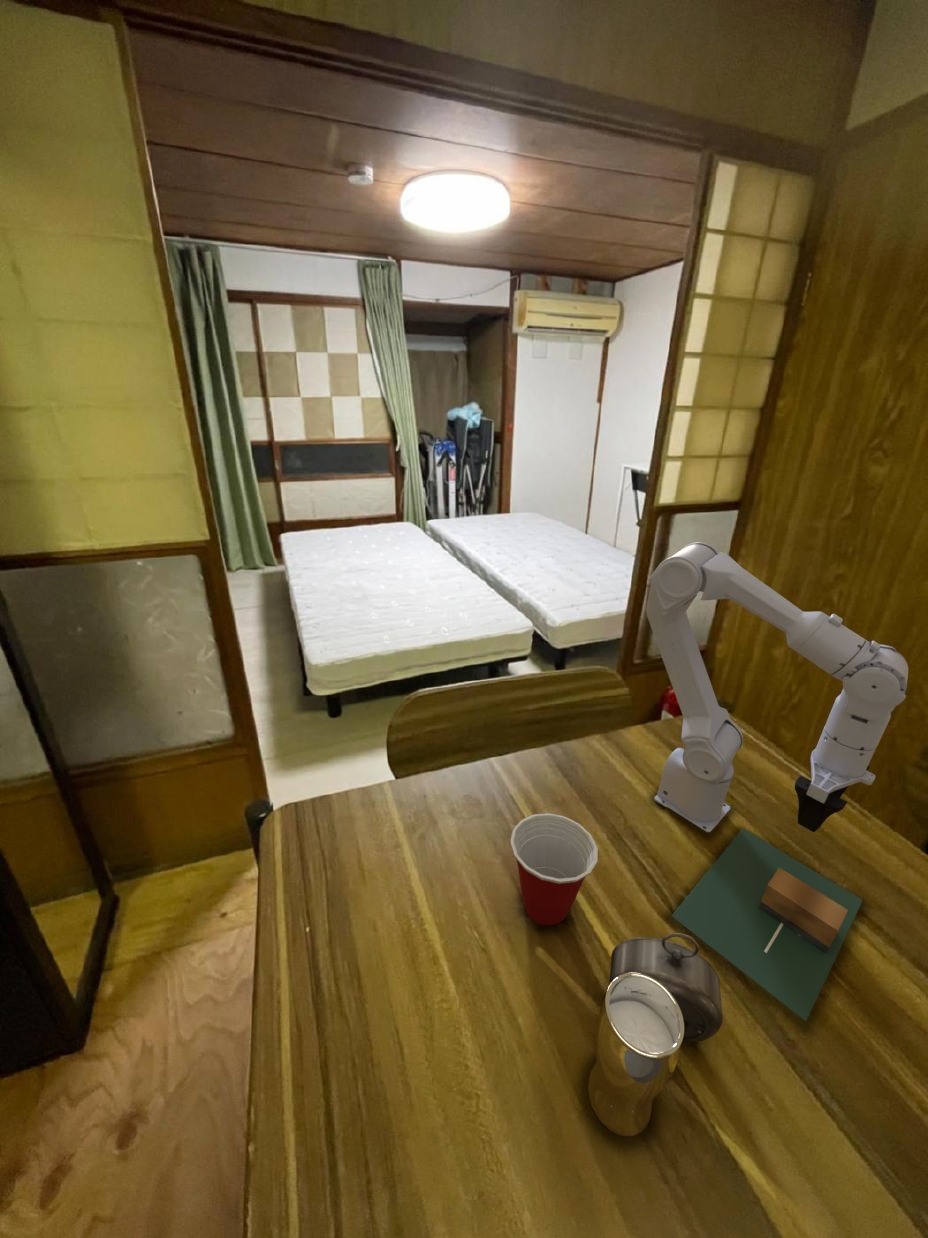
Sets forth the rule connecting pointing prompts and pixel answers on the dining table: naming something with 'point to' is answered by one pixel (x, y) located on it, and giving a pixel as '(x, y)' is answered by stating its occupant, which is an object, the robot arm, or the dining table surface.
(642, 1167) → the dining table surface
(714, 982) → the alarm clock
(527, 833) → the plastic cup
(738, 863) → the chalkboard
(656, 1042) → the beer glass
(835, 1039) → the dining table surface
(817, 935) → the eraser
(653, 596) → the robot arm
